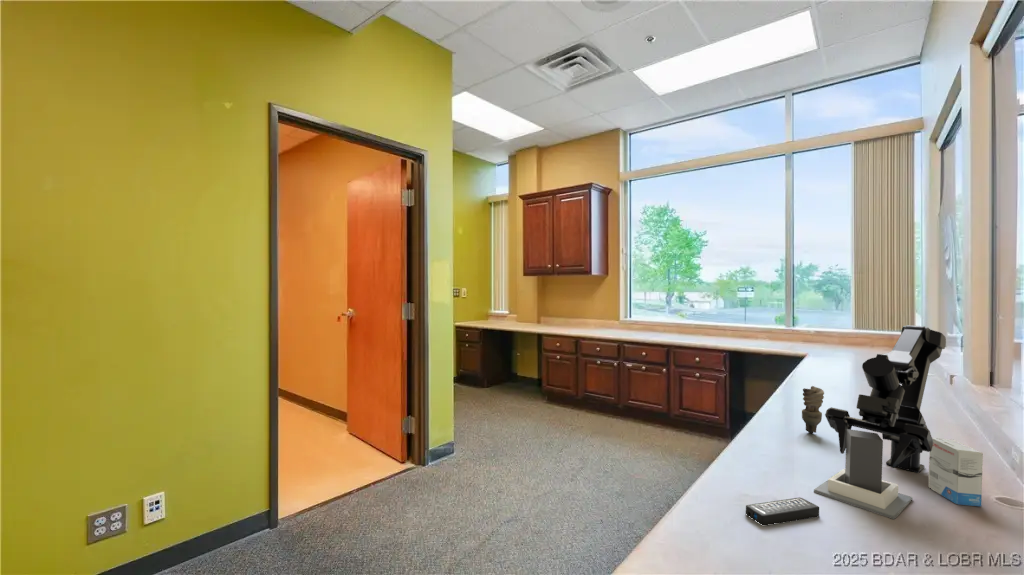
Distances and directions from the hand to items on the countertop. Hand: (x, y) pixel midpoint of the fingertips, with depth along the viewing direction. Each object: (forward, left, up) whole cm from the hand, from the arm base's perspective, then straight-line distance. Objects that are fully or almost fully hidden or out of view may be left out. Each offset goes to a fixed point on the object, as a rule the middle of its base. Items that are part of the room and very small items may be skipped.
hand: (865, 459), depth 99 cm
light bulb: (-37, -23, -8) cm, 44 cm away
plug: (+1, 0, -7) cm, 7 cm away
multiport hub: (+25, -7, -8) cm, 28 cm away
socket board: (+1, 0, -8) cm, 8 cm away
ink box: (-16, +12, -8) cm, 21 cm away
